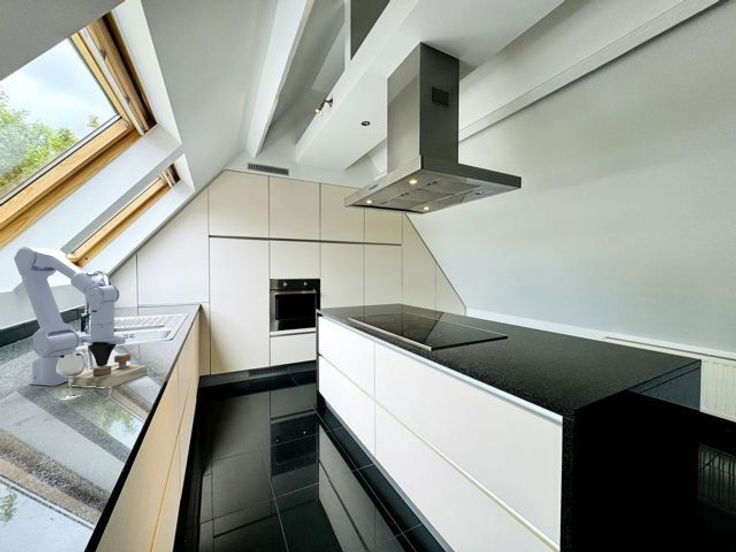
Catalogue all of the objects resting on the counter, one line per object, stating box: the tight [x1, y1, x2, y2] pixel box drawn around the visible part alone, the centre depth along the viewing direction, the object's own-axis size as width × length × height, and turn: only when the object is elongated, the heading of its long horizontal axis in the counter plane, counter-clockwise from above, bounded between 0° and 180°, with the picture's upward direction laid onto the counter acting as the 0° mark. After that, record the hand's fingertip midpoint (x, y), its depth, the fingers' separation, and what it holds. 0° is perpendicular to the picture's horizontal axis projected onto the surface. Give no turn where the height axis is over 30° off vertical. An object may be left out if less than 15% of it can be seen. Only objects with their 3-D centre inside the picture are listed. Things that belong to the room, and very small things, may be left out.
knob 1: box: [92, 364, 111, 376], centre depth 97 cm, size 4×4×5 cm
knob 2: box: [113, 353, 132, 369], centre depth 104 cm, size 4×4×5 cm
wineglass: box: [56, 352, 86, 398], centre depth 87 cm, size 6×6×12 cm
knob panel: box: [72, 363, 148, 389], centre depth 101 cm, size 14×14×3 cm
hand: (102, 365), depth 97 cm, fingers closed
